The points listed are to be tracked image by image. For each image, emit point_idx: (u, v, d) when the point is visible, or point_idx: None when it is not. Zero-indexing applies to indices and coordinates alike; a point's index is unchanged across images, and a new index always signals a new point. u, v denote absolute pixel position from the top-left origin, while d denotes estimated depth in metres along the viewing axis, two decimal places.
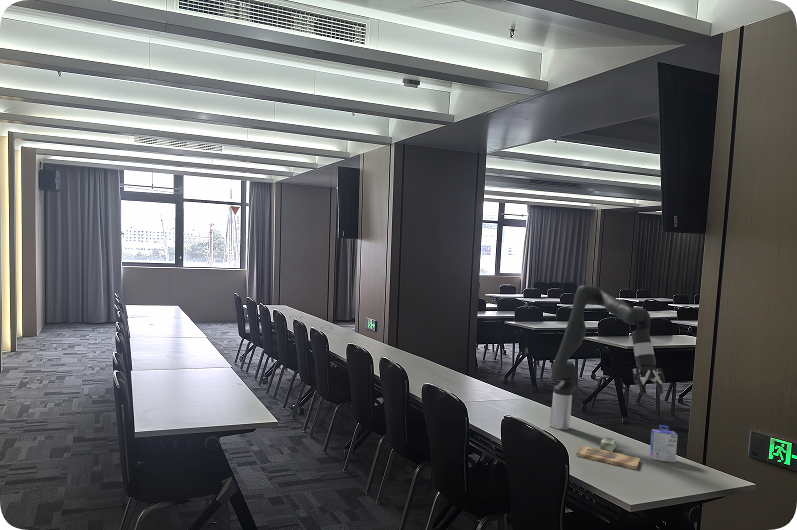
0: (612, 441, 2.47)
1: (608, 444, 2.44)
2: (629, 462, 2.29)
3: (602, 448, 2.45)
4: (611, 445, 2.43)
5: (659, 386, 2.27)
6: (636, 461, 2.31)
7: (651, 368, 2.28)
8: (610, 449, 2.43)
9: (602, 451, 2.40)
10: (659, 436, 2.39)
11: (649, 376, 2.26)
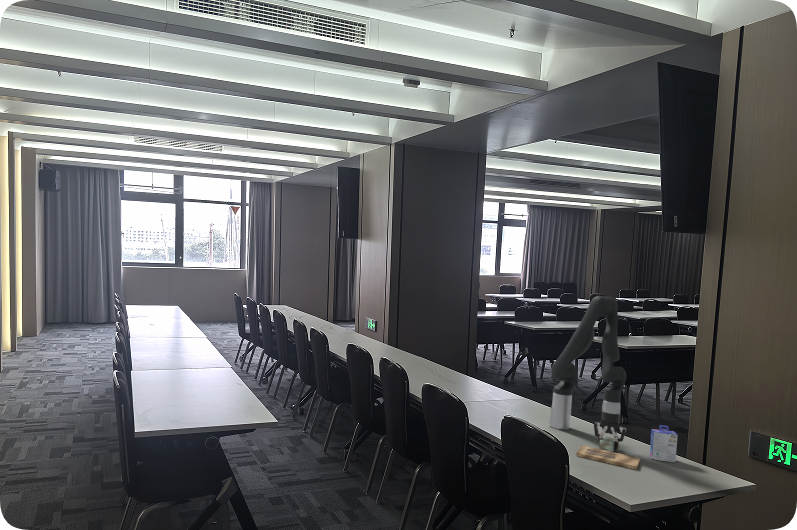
0: (612, 441, 2.47)
1: (607, 443, 2.44)
2: (629, 462, 2.29)
3: (601, 447, 2.46)
4: (609, 444, 2.43)
5: None
6: (636, 461, 2.31)
7: (612, 425, 2.46)
8: (608, 448, 2.44)
9: (602, 451, 2.40)
10: (659, 436, 2.39)
11: (607, 431, 2.47)
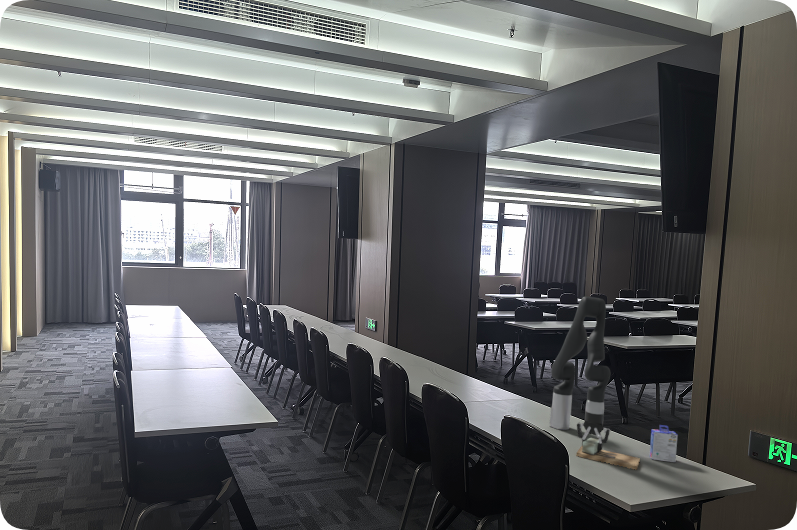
0: (596, 442, 2.38)
1: (590, 445, 2.35)
2: (629, 462, 2.29)
3: (584, 449, 2.37)
4: (593, 446, 2.34)
5: None
6: (636, 461, 2.31)
7: (596, 425, 2.38)
8: (592, 450, 2.35)
9: (602, 451, 2.40)
10: (659, 436, 2.39)
11: (590, 432, 2.38)
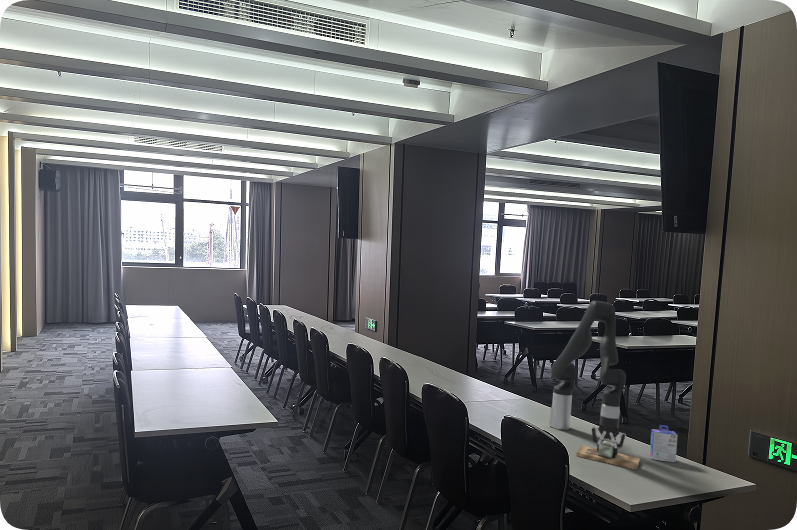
0: (611, 445, 2.35)
1: (606, 448, 2.32)
2: (629, 462, 2.29)
3: (600, 452, 2.34)
4: (609, 449, 2.31)
5: None
6: (636, 461, 2.31)
7: (611, 430, 2.35)
8: (608, 453, 2.32)
9: None
10: (659, 436, 2.39)
11: (606, 436, 2.36)
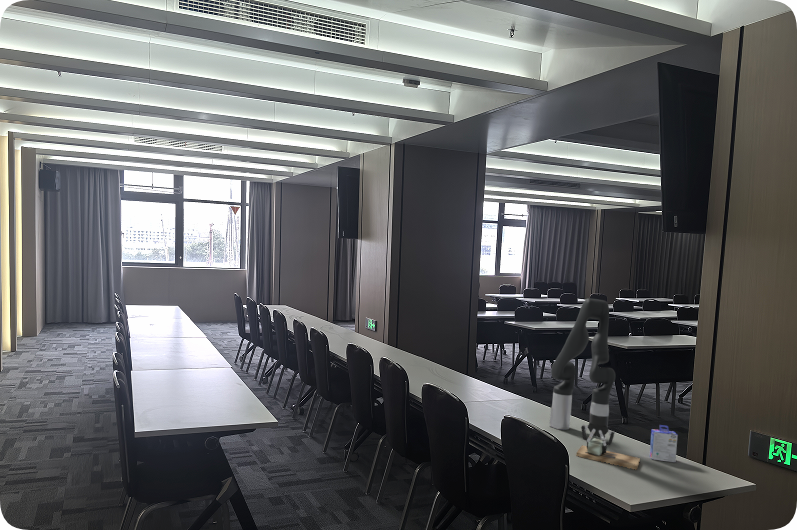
0: (600, 443, 2.37)
1: (595, 445, 2.34)
2: (629, 462, 2.29)
3: (589, 450, 2.35)
4: (598, 447, 2.33)
5: None
6: (636, 461, 2.31)
7: (600, 427, 2.36)
8: (597, 451, 2.33)
9: None
10: (659, 436, 2.39)
11: (595, 434, 2.37)
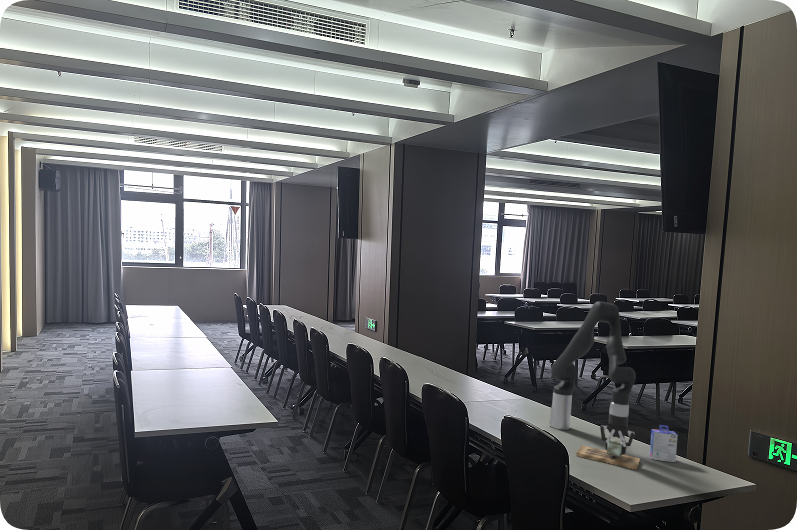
0: (620, 443, 2.33)
1: (615, 446, 2.30)
2: (629, 462, 2.29)
3: (609, 450, 2.32)
4: (618, 448, 2.30)
5: (622, 447, 2.33)
6: (636, 461, 2.31)
7: (620, 428, 2.33)
8: (617, 452, 2.30)
9: (602, 451, 2.40)
10: (659, 436, 2.39)
11: (614, 435, 2.34)
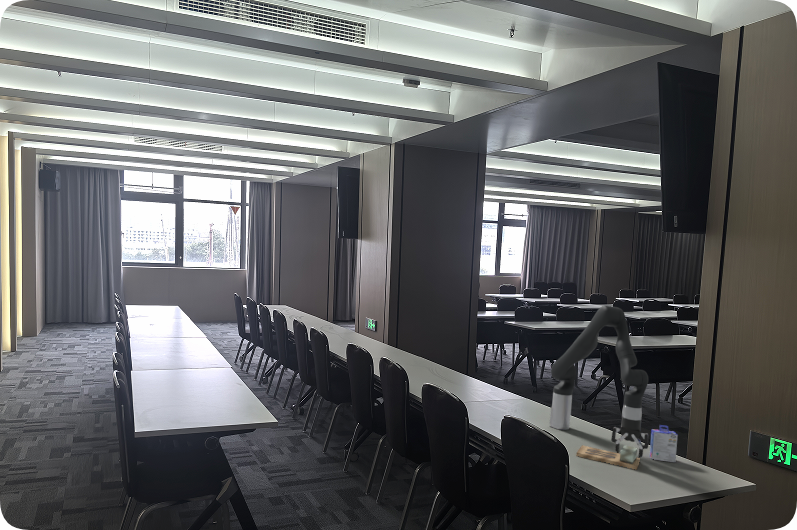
0: (633, 450, 2.31)
1: (628, 453, 2.28)
2: None
3: (622, 457, 2.29)
4: (632, 454, 2.27)
5: (639, 450, 2.29)
6: (636, 461, 2.31)
7: (633, 431, 2.30)
8: (630, 459, 2.27)
9: (602, 451, 2.40)
10: (659, 436, 2.39)
11: (627, 438, 2.31)
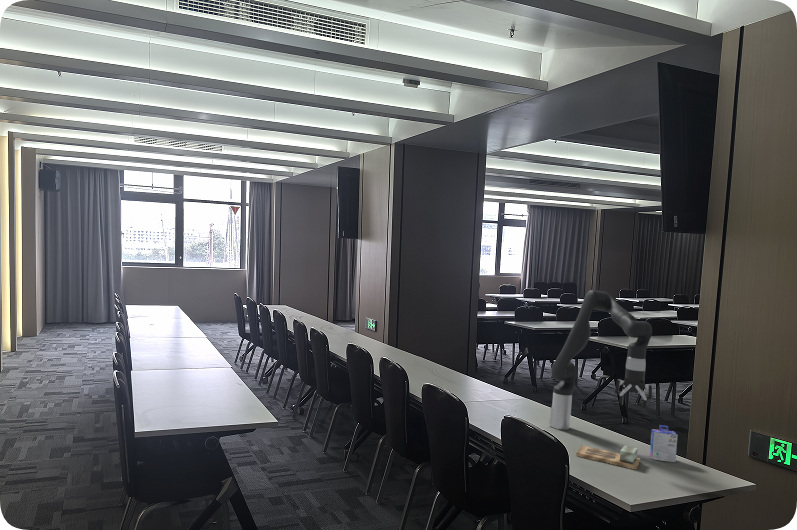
0: (633, 450, 2.31)
1: (628, 453, 2.28)
2: None
3: (622, 457, 2.29)
4: (632, 454, 2.27)
5: (643, 401, 2.29)
6: (636, 461, 2.31)
7: (637, 383, 2.30)
8: (630, 459, 2.27)
9: (602, 451, 2.40)
10: (659, 436, 2.39)
11: (631, 390, 2.31)
